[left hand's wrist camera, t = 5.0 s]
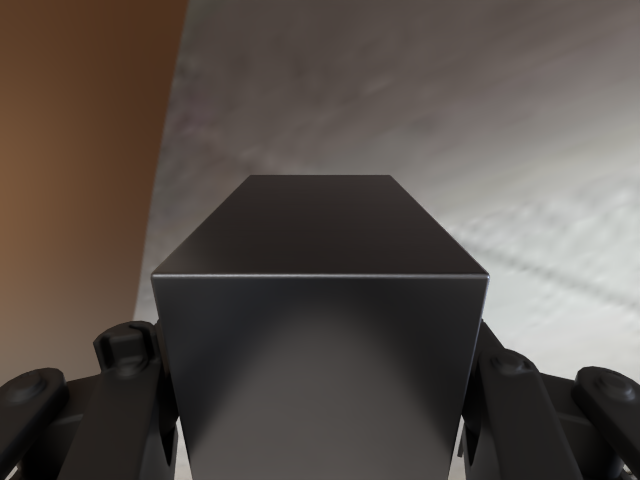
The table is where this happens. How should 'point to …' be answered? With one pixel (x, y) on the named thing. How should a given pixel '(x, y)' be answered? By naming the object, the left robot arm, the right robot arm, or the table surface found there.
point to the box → (320, 332)
